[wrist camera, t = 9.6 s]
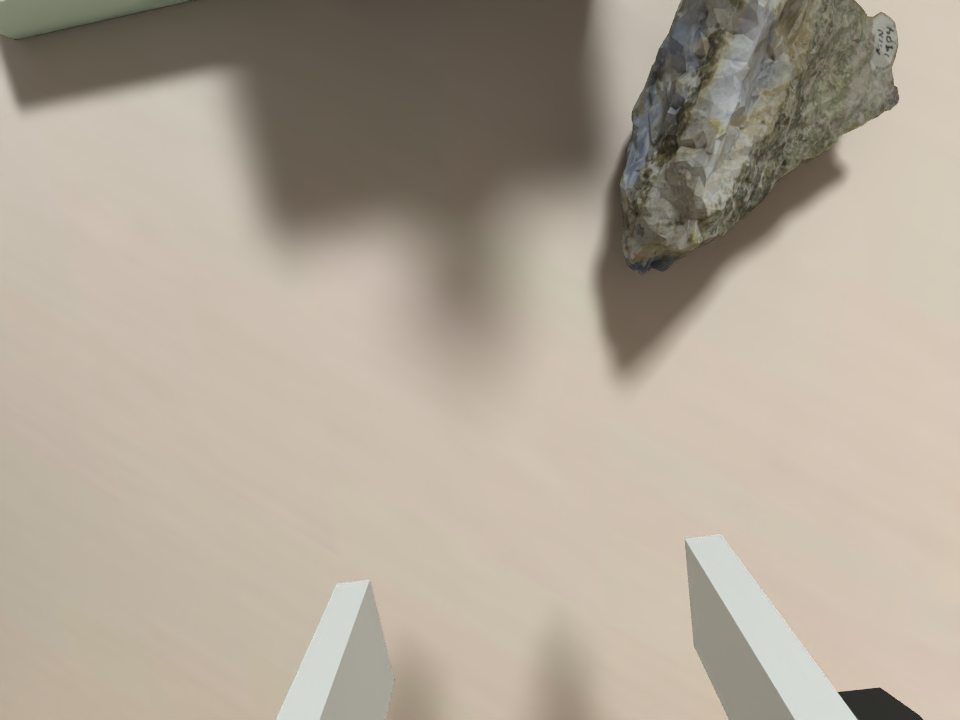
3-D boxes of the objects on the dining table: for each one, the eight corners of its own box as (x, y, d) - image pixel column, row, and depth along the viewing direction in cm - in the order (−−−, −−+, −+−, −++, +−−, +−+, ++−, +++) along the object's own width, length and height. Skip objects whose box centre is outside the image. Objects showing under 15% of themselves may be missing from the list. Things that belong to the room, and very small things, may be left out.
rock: (833, -214, 12) (943, 30, 18) (637, -136, 17) (778, 37, 23) (612, 257, 15) (772, 331, 21) (496, 212, 19) (656, 283, 25)
